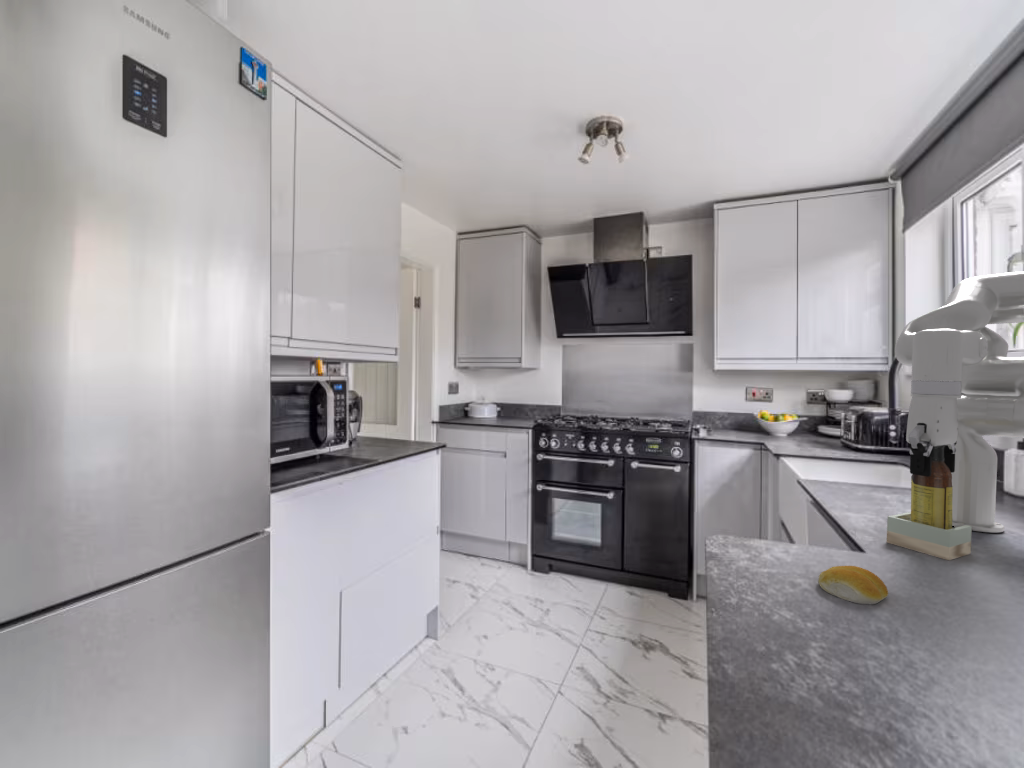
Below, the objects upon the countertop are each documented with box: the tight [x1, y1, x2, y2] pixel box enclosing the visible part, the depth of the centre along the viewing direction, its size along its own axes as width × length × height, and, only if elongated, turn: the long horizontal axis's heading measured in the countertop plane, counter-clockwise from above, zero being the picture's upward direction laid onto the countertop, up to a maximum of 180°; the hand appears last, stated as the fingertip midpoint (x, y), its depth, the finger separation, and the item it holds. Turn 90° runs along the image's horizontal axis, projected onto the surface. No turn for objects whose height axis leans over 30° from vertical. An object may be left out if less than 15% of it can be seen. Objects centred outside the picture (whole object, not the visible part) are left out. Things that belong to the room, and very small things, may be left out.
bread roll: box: [817, 565, 889, 605], centre depth 71 cm, size 8×9×4 cm
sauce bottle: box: [910, 445, 953, 530], centre depth 92 cm, size 7×6×20 cm
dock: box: [886, 511, 973, 561], centre depth 91 cm, size 9×10×6 cm
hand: (932, 473), depth 92 cm, fingers open, 9 cm apart
